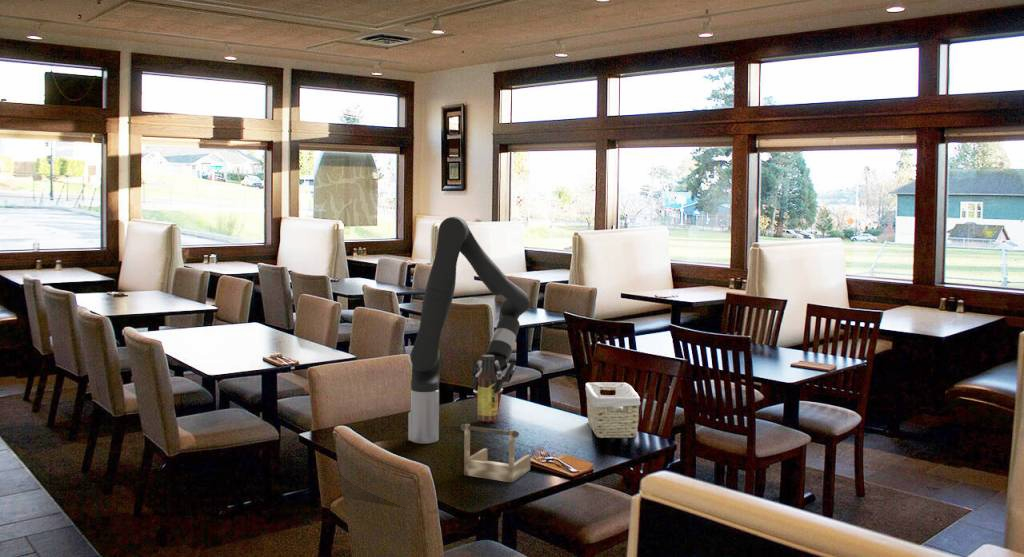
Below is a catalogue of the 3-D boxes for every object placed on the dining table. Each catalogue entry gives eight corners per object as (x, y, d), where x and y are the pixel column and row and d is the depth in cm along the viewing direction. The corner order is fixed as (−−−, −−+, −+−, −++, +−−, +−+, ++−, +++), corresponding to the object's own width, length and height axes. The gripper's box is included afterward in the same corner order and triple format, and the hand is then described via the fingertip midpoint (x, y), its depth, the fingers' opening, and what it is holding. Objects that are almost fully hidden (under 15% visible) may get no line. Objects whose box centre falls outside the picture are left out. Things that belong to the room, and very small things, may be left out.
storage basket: (640, 439, 295) (641, 396, 293) (593, 439, 294) (594, 396, 293) (627, 421, 319) (628, 381, 317) (583, 421, 318) (584, 381, 316)
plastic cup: (485, 416, 323) (485, 384, 322) (508, 420, 317) (509, 388, 316) (466, 421, 314) (467, 389, 313) (490, 426, 308) (491, 393, 307)
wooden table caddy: (458, 474, 254) (459, 424, 253) (479, 462, 267) (479, 414, 265) (516, 483, 247) (517, 431, 246) (534, 470, 259) (535, 421, 258)
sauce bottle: (495, 422, 263) (495, 358, 261) (475, 421, 264) (475, 357, 262) (499, 417, 270) (500, 354, 268) (480, 416, 271) (480, 353, 269)
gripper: (477, 337, 274) (460, 381, 265) (519, 340, 269) (503, 386, 259) (484, 351, 280) (467, 395, 270) (525, 354, 274) (510, 399, 264)
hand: (485, 390), depth 265 cm, fingers closed on sauce bottle, 6 cm apart
